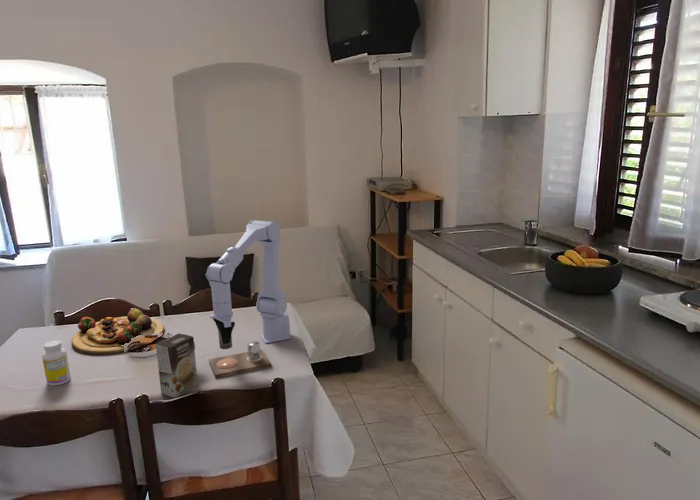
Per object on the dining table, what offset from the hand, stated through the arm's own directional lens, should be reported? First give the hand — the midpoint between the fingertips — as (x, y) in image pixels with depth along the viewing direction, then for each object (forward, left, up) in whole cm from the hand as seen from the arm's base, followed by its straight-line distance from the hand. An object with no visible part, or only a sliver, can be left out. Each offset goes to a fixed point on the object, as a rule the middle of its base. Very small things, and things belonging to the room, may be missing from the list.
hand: (225, 340), depth 176 cm
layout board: (-4, 0, -9) cm, 10 cm away
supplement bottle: (+50, -14, -10) cm, 53 cm away
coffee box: (+16, +8, -10) cm, 20 cm away
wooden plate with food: (+32, -43, -10) cm, 54 cm away
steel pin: (0, 0, -2) cm, 2 cm away
